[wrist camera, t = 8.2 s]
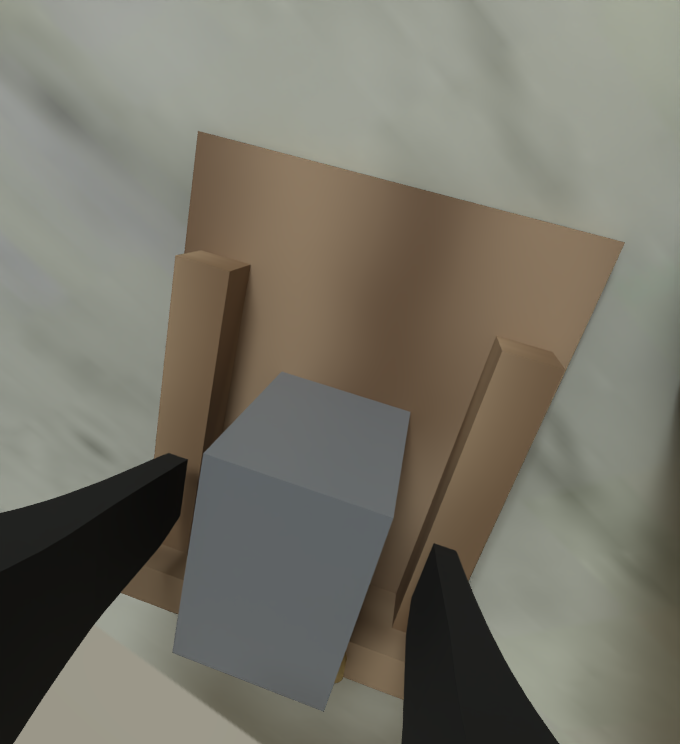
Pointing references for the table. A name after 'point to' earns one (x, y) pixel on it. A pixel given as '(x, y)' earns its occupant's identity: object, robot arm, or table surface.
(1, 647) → the robot arm
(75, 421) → the table surface
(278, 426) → the plug block
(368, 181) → the wooden railed tray
